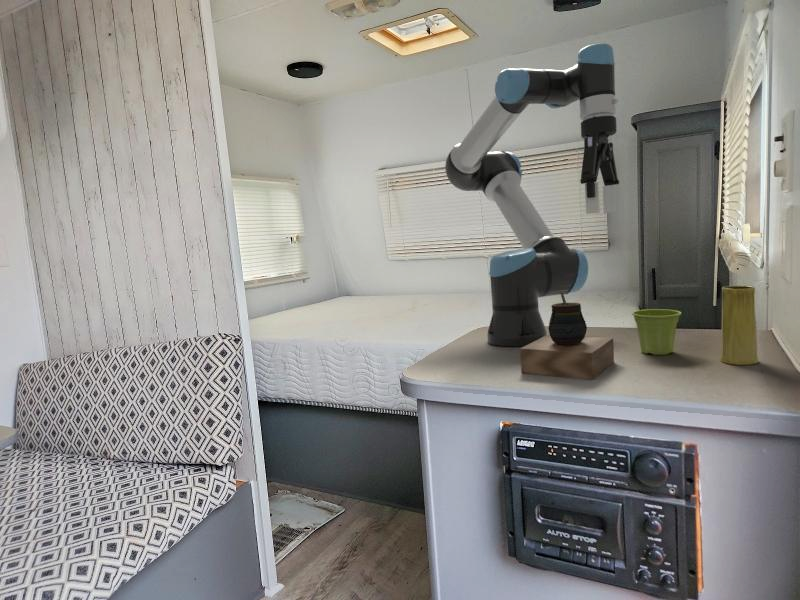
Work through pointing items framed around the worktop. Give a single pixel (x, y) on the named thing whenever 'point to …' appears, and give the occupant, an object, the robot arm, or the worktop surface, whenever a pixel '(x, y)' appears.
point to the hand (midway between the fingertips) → (601, 213)
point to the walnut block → (567, 357)
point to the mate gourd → (567, 323)
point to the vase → (738, 326)
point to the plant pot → (656, 330)
